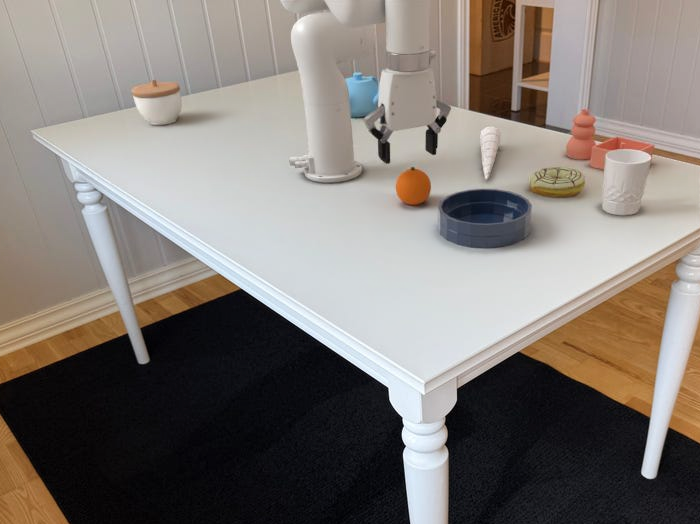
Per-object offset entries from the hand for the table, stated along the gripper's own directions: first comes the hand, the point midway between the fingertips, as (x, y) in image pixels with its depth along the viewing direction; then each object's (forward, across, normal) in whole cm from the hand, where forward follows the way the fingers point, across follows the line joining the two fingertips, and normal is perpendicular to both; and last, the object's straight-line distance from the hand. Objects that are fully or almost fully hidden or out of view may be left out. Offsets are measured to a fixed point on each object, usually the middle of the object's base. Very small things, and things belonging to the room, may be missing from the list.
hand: (408, 157), depth 129 cm
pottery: (+9, -47, +1) cm, 48 cm away
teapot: (+12, -17, -65) cm, 68 cm away
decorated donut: (+9, -28, +10) cm, 31 cm away
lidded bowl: (+13, +32, -88) cm, 95 cm away
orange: (+9, 0, +2) cm, 9 cm away
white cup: (+8, -33, +24) cm, 41 cm away
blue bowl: (+8, -6, +19) cm, 22 cm away
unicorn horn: (+10, -26, -12) cm, 30 cm away
